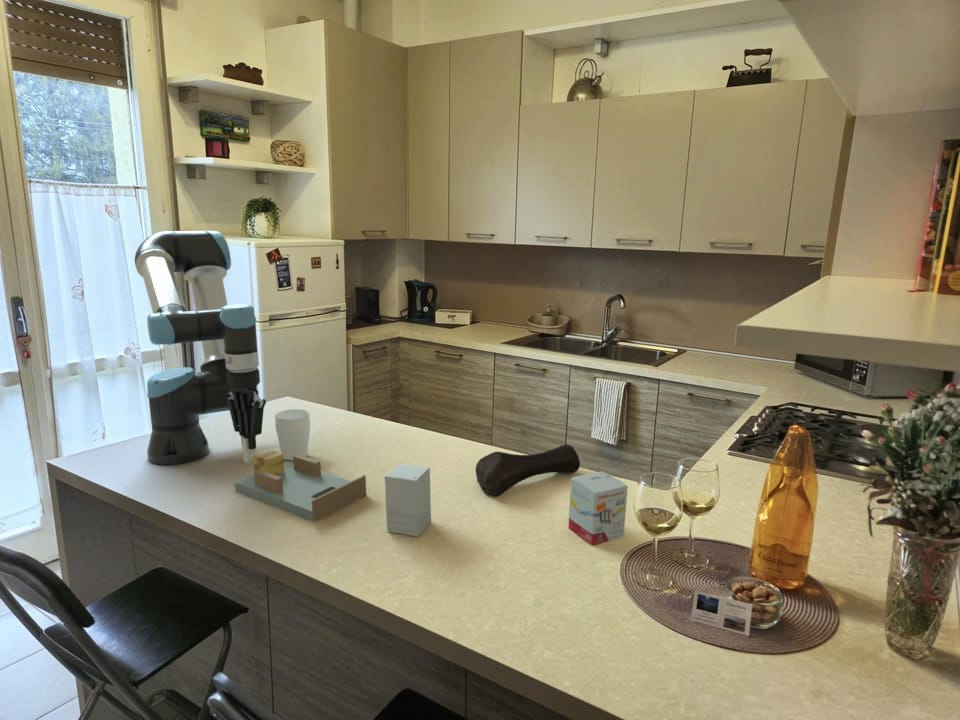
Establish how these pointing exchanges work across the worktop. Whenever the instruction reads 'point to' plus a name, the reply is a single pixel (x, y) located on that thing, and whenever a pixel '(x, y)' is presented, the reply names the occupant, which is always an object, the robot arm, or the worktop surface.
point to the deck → (303, 489)
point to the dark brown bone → (522, 468)
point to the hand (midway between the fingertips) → (250, 460)
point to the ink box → (597, 507)
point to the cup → (293, 432)
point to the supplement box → (408, 499)
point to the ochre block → (269, 462)
